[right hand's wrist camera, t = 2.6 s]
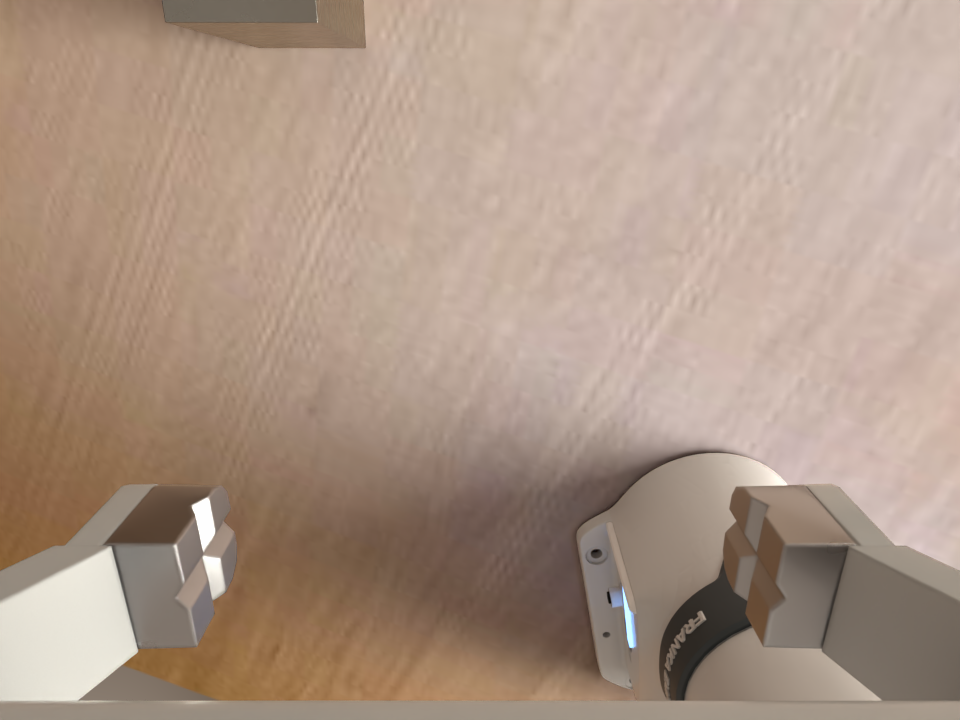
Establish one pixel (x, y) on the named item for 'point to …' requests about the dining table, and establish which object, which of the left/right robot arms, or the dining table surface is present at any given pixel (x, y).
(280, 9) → the box
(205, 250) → the dining table surface
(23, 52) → the dining table surface
